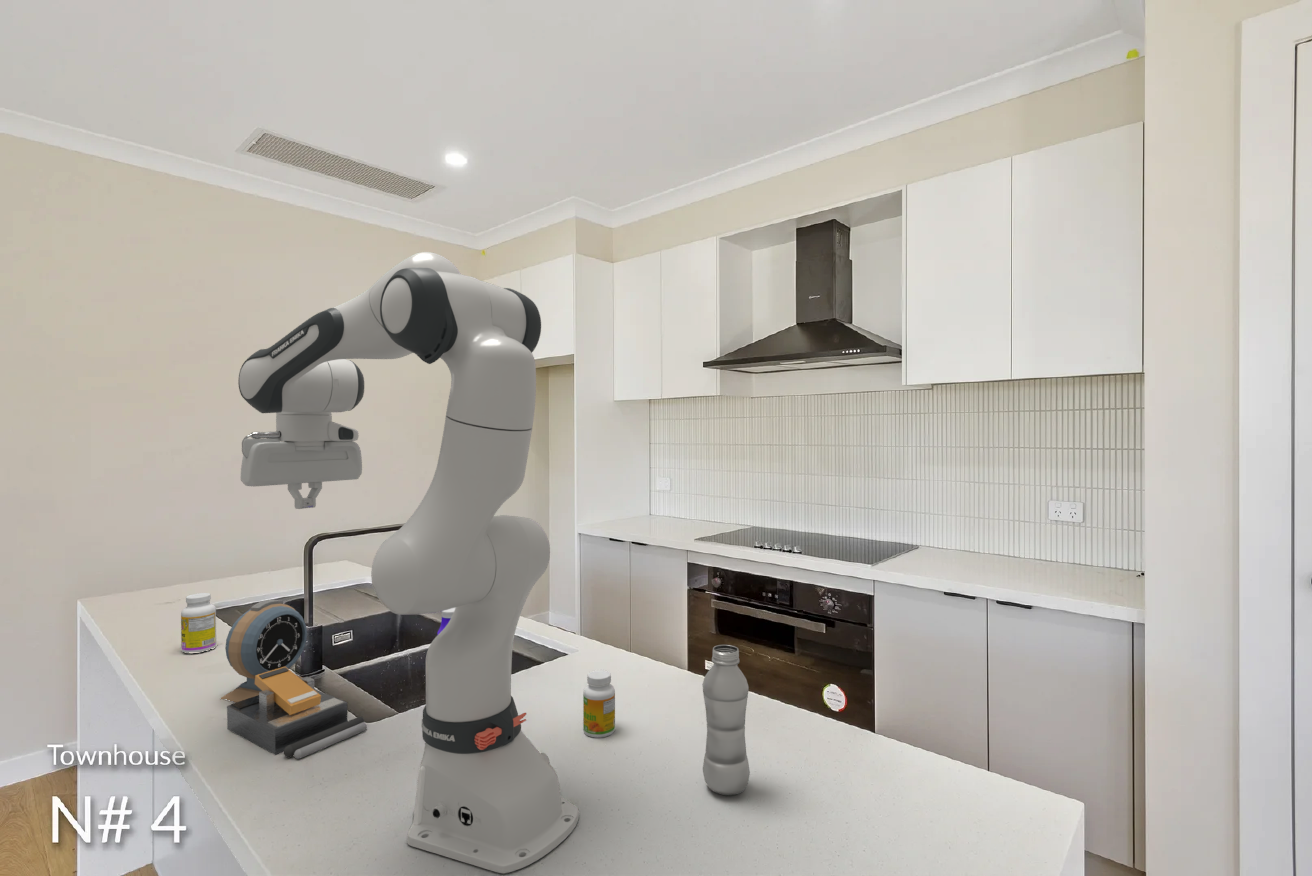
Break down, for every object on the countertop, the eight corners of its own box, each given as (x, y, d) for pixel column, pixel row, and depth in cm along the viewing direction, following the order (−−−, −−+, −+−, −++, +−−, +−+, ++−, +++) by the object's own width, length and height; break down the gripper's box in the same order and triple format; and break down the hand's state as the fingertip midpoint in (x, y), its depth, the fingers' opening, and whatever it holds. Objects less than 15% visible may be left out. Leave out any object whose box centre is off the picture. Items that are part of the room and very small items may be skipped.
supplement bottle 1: (185, 647, 150) (184, 593, 150) (219, 643, 153) (218, 590, 153) (178, 657, 144) (177, 600, 144) (213, 652, 147) (212, 597, 147)
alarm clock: (251, 709, 117) (250, 613, 117) (214, 701, 121) (213, 608, 120) (317, 680, 131) (316, 594, 130) (282, 674, 134) (281, 590, 134)
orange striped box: (320, 704, 109) (321, 694, 109) (290, 715, 105) (291, 705, 104) (284, 674, 115) (285, 665, 115) (254, 683, 111) (255, 674, 111)
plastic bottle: (738, 807, 86) (738, 660, 86) (694, 792, 90) (694, 651, 90) (757, 784, 92) (757, 646, 92) (714, 771, 95) (714, 638, 95)
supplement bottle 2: (576, 731, 108) (576, 674, 108) (600, 720, 112) (600, 665, 112) (598, 741, 105) (597, 683, 104) (621, 730, 109) (621, 673, 108)
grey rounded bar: (358, 725, 111) (358, 715, 111) (369, 730, 109) (369, 719, 109) (281, 757, 100) (281, 746, 100) (292, 763, 98) (292, 751, 98)
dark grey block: (347, 725, 111) (347, 683, 111) (275, 755, 101) (274, 709, 100) (298, 703, 119) (298, 665, 119) (227, 729, 109) (226, 687, 109)
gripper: (251, 431, 105) (251, 515, 105) (366, 431, 122) (367, 503, 122) (232, 431, 108) (233, 513, 108) (347, 431, 125) (348, 501, 125)
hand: (305, 508), depth 115 cm, fingers closed
